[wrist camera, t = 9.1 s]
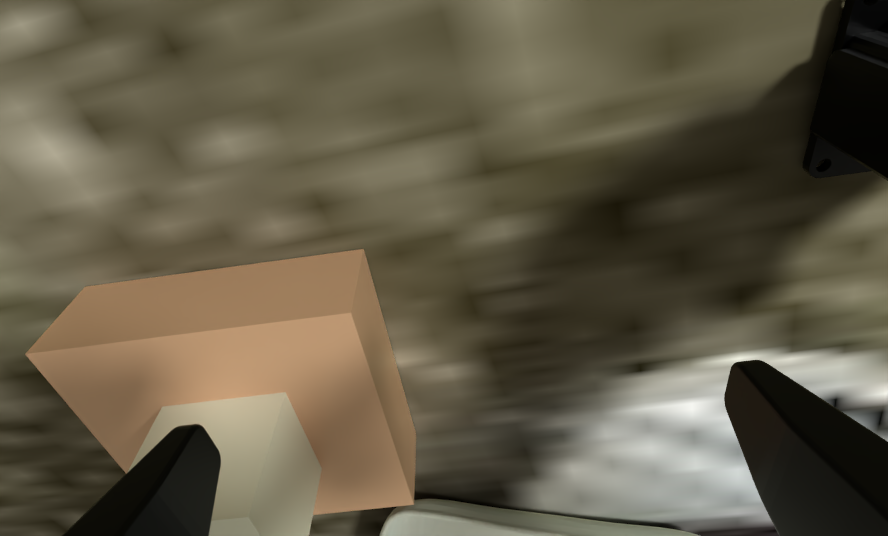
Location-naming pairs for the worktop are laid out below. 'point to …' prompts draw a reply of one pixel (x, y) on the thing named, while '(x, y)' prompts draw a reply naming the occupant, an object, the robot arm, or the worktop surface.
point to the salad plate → (501, 522)
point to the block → (252, 463)
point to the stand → (245, 364)
